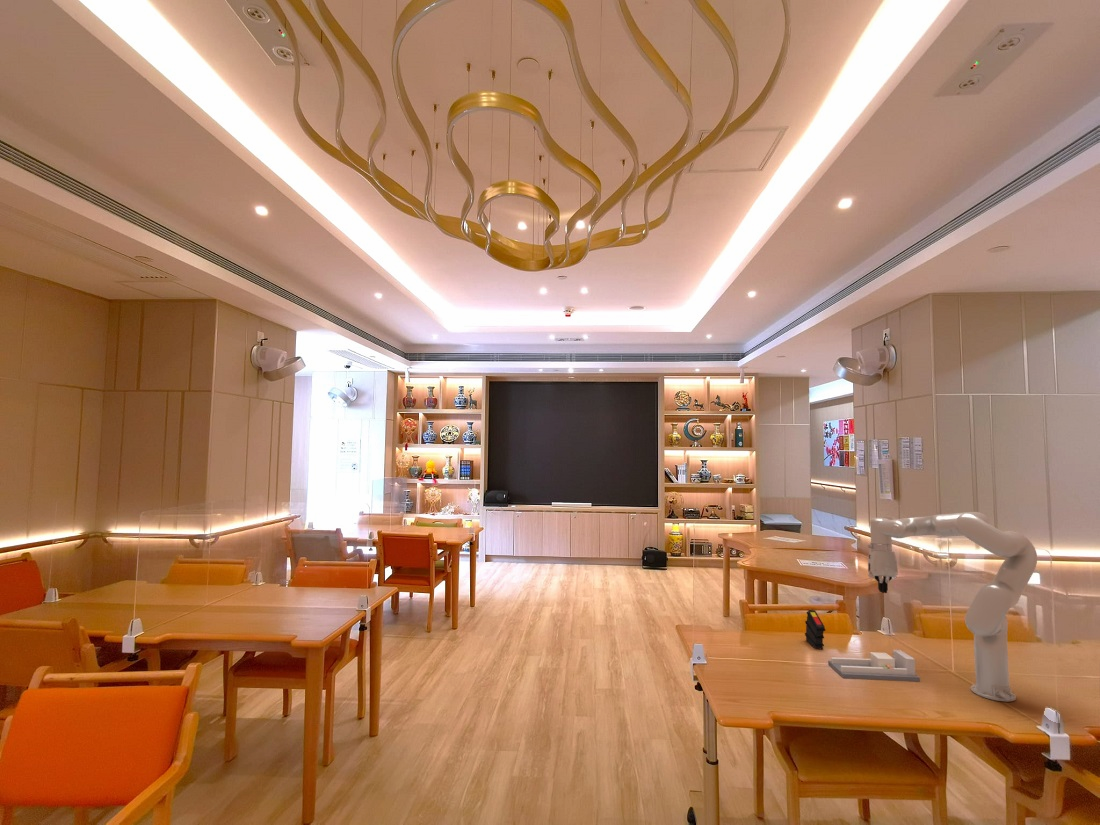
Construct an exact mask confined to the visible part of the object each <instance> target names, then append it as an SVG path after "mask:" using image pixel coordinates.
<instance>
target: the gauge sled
mask: <svg viewBox="0 0 1100 825" xmlns="http://www.w3.org/2000/svg"><path fill="white" fill-rule="evenodd" d="M869 656H870V658H869V659H870V665H871V666H872V667H888V668H895V659H894V658H893V656H891V655H889V654H888V653H886V652H876V651H875V652H871V651H870V652H869Z"/></svg>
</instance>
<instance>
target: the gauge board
mask: <svg viewBox="0 0 1100 825" xmlns="http://www.w3.org/2000/svg"><path fill="white" fill-rule="evenodd" d="M892 658H894V659H895V668H888V667H872V666H871V665H870V658H853V657H832V656H831V660H827V663H828V664H827V665H828V666H830V667H831V668H832V669H833V670H834V671H835V672H836V673H837V674H838V675H839V676H841V678H842V679H850V680H851V679H855V680H856V679H857V680H875V681H876V680H879V681H896V682H897V681H899V682H903V681H904V682H921V678H920V676H919V675H917V674H916V659H915V658H914V657H912V656H911V655H909V654H908V653H906V652H904V651H903V650H901V649H892Z"/></svg>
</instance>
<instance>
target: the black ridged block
mask: <svg viewBox="0 0 1100 825" xmlns="http://www.w3.org/2000/svg"><path fill="white" fill-rule="evenodd" d="M806 615H807V616H806V620H805V621H804V624H805V625H806V628H805V632H804V636H805V641H806V642H807V643H808V644H809V645H810V646H812V647H813V648H814V649H816V650H823V649H824V647H825V644H824V643H823V642H824V641H823V640H824V639H825V637H824V632H826V629H825V625H824V623H823V621H822V620H821V618H820V616H819V614H818V613H817V611H816V610H815V609H808V610H807V611H806Z"/></svg>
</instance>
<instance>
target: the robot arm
mask: <svg viewBox="0 0 1100 825" xmlns="http://www.w3.org/2000/svg"><path fill="white" fill-rule="evenodd" d="M869 524H870V525H869V526H870V543H869V544H867V548H868V549H869V553H868V555H867V556H868V558H867V571H868V578H871V579H875V580H876V582H877V587H878V590H879V592H880V593H882V594H888V590H889V588H888V587H889V585H888V584H889V583H890V581H891V580H893V579H897V576H898V575H899V570H898V569H899V568H898V563H897V558H896V553H895V552H894V551H893V544H892V543H893V542H892V538H894V539H905V538H908V537H918V536H937V537H940V538H941V537H942V538H945V537H962V536H963V537H965V538H967V539H968V540H969V541H971V542H973V543H975V544H976V545H978V546H979V547H981V548H983V549H984V550H986V551H988V552H990V553H991V554H993V555H994V556H996V557H997V556H998V557H1000V558H1005V559H1004V560H1003V562H1002V564H1001V565H1000V567H999V568H998V571H997V573H996V575H995V576H994V577H993V579H992V580H991V581H989V582H987V583H986V584H984V585H982V586H981V587H980V588H979V590H978V592H977V594H976V595H975V597H974V599H972V602H971V604H970V606H969V608H968V609H967V611H966V613H965V615H964V622H965V625H966V628H967V629H968V630H969V632H971V633H972V634H973V650H974V651H973V652H974V673H975V684H974V683H973V684H972V685H970V690H971V692H973V693H974V694H975V695H977V696H979V697H982V698H985V699H989V700H992V701H998V702H1006V703H1009V702H1014V701H1016V699H1017V698H1016V697H1017V696H1016V694H1015V693H1013V692H1012V691H1011V690H1012V689H1011V688H1012V687H1010V673H1009V672H1010V671H1009V657H1008V654H1009V652H1008V651H1009V650H1008V631H1009V629H1008V628H1009V624H1008V623H1009V622H1008V618H1007V614H1008V613H1009V611H1010V610H1011V608H1014V607H1015V606H1016V605H1017V604H1018V603H1019V601H1020V598H1021V596H1022V594H1023V592H1024V591H1025V589H1026V587H1027V585H1028V583H1029V582H1030V580H1031V578H1032V576H1033V575H1034V572H1035V571H1036V570H1035V569H1036V568H1037V565H1038V564H1037V563H1038V553H1037V549H1036V548H1035V546H1034V543H1032V541H1030V539H1029V538H1028V537H1027V536H1025V535H1024V534H1022V533H1020V532H1019V531H1014V530H1005V531H1002V530H1000V529H998V528H997V527H995V526H993V525H992V524H991V520H990V519H989V518H988V516H987V515H986V514H984V513H982V512H979V511H965V512H954V513H941V514H933V515H929V516H928V515H927V516H917V517H904V518H897V519H889V518H886V517H872V518H871V519H870V520H869Z"/></svg>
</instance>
